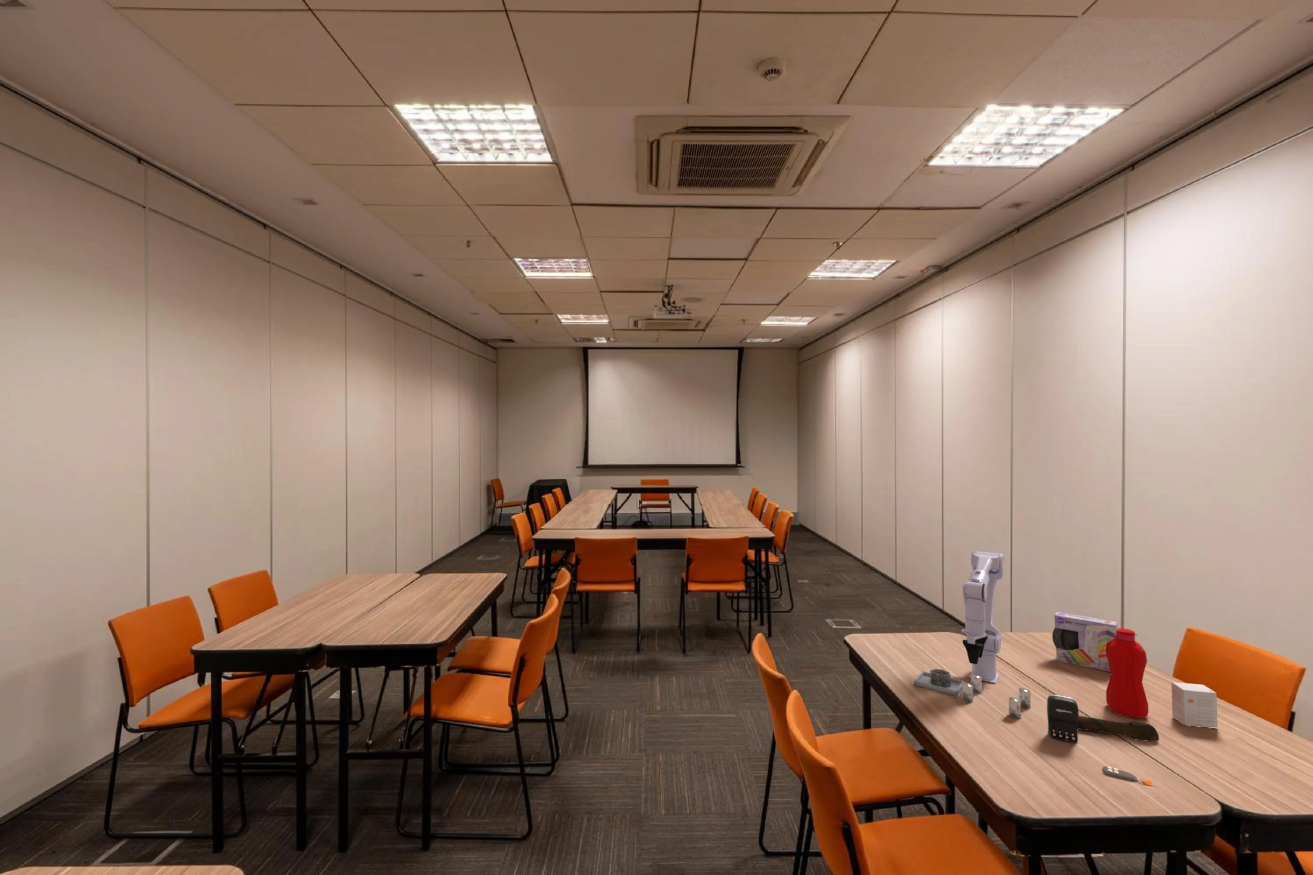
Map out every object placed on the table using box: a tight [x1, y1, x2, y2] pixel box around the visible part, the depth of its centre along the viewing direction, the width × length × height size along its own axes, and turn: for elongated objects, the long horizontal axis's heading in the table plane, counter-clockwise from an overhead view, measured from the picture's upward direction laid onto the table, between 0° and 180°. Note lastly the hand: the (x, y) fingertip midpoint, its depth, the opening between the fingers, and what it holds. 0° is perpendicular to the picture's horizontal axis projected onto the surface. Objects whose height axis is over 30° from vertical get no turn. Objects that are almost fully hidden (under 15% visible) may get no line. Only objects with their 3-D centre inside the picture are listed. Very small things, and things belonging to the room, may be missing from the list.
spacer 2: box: [970, 674, 983, 694], centre depth 179 cm, size 3×3×5 cm
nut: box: [929, 668, 951, 688], centre depth 184 cm, size 6×6×4 cm
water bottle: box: [1099, 627, 1149, 720], centre depth 166 cm, size 9×11×25 cm
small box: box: [1171, 681, 1219, 728], centre depth 158 cm, size 8×6×10 cm
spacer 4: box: [1018, 687, 1032, 709], centre depth 169 cm, size 3×3×5 cm
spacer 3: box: [1008, 697, 1022, 720], centre depth 163 cm, size 3×3×5 cm
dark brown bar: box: [1078, 715, 1160, 742], centre depth 152 cm, size 19×4×5 cm, turn 64°
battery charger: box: [1046, 694, 1080, 743], centre depth 150 cm, size 7×4×11 cm, turn 61°
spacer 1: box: [961, 682, 974, 703], centre depth 173 cm, size 3×3×5 cm
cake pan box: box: [1051, 611, 1119, 673], centre depth 200 cm, size 19×5×18 cm, turn 42°
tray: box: [913, 670, 965, 697], centre depth 184 cm, size 10×13×2 cm
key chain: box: [1102, 765, 1153, 786], centre depth 132 cm, size 13×4×2 cm, turn 54°
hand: (975, 660), depth 179 cm, fingers open, 7 cm apart
